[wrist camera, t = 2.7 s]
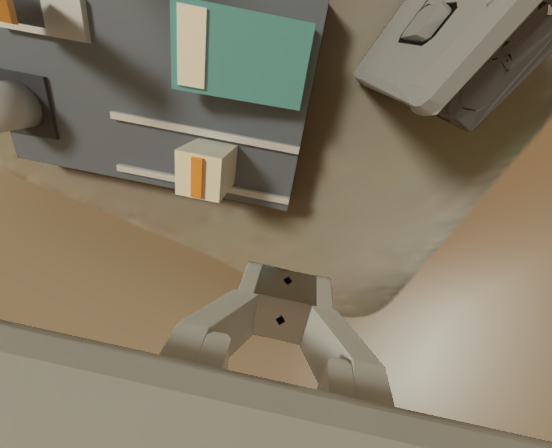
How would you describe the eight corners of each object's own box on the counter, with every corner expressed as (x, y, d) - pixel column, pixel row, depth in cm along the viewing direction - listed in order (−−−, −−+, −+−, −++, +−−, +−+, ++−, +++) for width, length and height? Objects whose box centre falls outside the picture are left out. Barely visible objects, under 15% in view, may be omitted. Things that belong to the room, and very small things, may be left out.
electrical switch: (461, -82, 15) (643, -231, 8) (517, -16, 17) (723, -83, 9) (349, 75, 20) (389, 87, 12) (401, 118, 21) (469, 155, 13)
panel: (-10, -55, 19) (-68, -80, 16) (328, 3, 18) (331, -11, 15) (41, 150, 25) (7, 159, 22) (289, 199, 24) (286, 215, 22)
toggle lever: (1, -14, 16) (-60, -42, 11) (40, -5, 17) (-1, -28, 12) (11, 23, 17) (-43, 13, 12) (47, 30, 18) (11, 23, 13)
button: (-6, 76, 20) (-44, 76, 18) (36, 84, 20) (3, 85, 18) (7, 123, 21) (-26, 127, 19) (47, 130, 21) (17, 136, 19)
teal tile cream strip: (176, 88, 18) (170, 89, 17) (175, -2, 16) (168, -7, 15) (298, 109, 18) (299, 111, 17) (313, 26, 16) (316, 22, 15)
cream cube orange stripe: (198, 137, 20) (172, 150, 17) (238, 145, 20) (220, 159, 17) (197, 175, 22) (173, 195, 18) (234, 183, 22) (217, 204, 18)
